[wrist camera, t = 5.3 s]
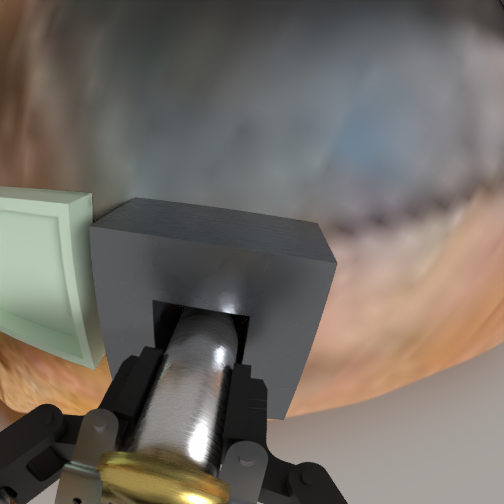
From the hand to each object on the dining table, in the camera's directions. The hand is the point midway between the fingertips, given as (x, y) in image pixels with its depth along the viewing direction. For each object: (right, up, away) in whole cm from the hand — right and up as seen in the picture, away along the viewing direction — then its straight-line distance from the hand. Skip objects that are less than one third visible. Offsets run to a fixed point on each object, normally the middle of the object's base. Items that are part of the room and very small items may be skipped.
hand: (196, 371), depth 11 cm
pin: (0, +2, +5) cm, 6 cm away
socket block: (0, +3, +6) cm, 7 cm away
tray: (-15, +4, +6) cm, 17 cm away
